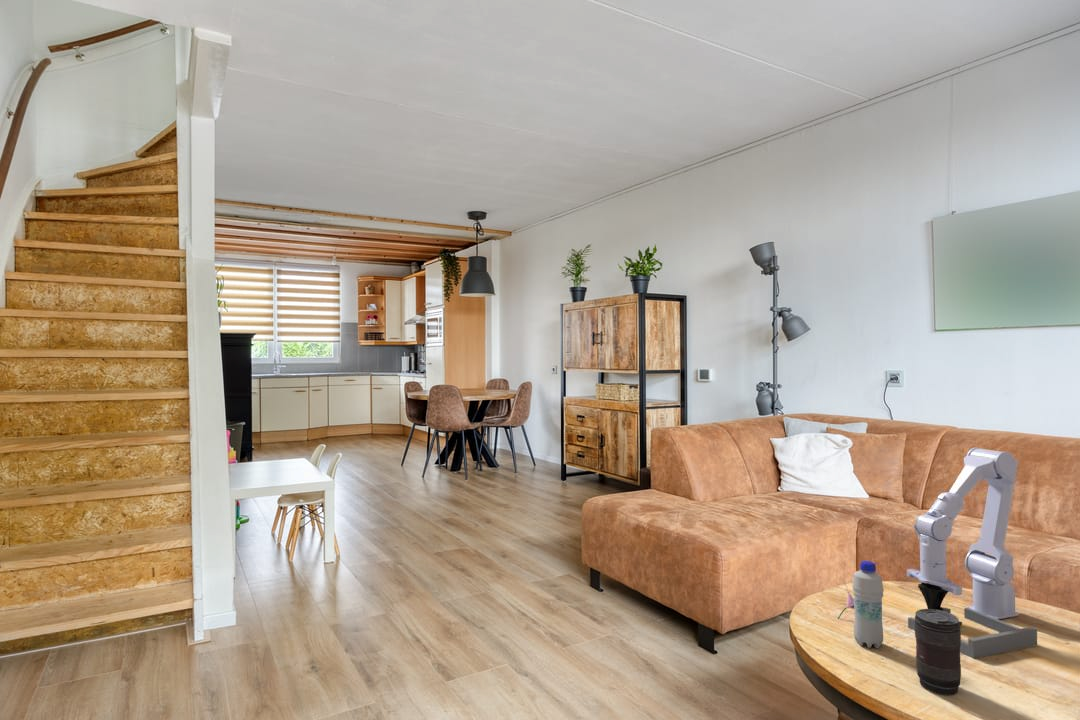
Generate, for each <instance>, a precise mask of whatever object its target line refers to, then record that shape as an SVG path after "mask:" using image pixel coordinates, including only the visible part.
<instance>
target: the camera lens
mask: <svg viewBox="0 0 1080 720" xmlns="http://www.w3.org/2000/svg"><path fill="white" fill-rule="evenodd" d="M914 618H915V631H914V637H915V644H916V645H915V648H916V649H915V650H916V651H915V652H916V654H915V666H916V675H917V676H918V678H919V684H920V685H921V687H922V688H924V689H925V690H927V691H929V692H932V693H934V694H937V695H941V696H942V695H943V696H955V695H957V694H958V693H959V692H958V691H959V687H960V686H961V679H962V665H961V652H960V646H961V640H962V638H961V637H962V633H961V630H962V629H961V627H962V626H961V627H960V623H959V621H960V619H959V618H958V617H957V616H956V615H955V614H953V613H948V612H945V611H941V610H935V609H928V608H922V609H918V610H916V611H915V616H914Z"/></svg>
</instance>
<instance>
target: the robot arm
mask: <svg viewBox="0 0 1080 720" xmlns="http://www.w3.org/2000/svg"><path fill="white" fill-rule="evenodd" d="M963 464H964V465H963V468H962V470H961V471H960V473H959V475H958V476H957V478H956V480H955V481H954V482H953V485H952V487H951V488H950V489H949V491H948V492H947V491H946V492H941V493H940V494H939V495H938V496H937V499H936V500H935V501H934V503H933V504H932V505H931V507H929V509H928V510H927V511H926V513H923V514H921V515H918V517H917V518H916V520H915V523H914V524H913V528H914V531H915V532H916V534H917V539H918V541H919V556H920V557H919V559H920V560H919V564H920V565H919V566H920V570H917V569H914V568H909V569H907V568H906V577H908V578H913V579H915V580H918V581H919V582H920V583H918V585H917V587H918V589H919V591H920V593H921V594H922V597H923V598H924V602H925V604H926V607H927V608H926V609H935V610H936V609H937V606H939V607H942V604H943V601H944V599H945V597H946V596H947V594H948V593H952V595H954V596H962V595H963V587H962V586H960V585H958V584H956V583H954V582H953V581H951V580H949V579H948V578H947V552H946V551H947V547H946V545H947V544H946V542H947V541H946V540H947V539H948V538H949V537H950V536H951V535H952V531H953V526H954V520H955V519H956V518H957V517H958V515H959V514H960V513H961V511H962V510H963V508H964V507H965V504H964V498H965V497H966V496H967V495H968V494H969V493H970V492H971V491H972V490H973V488H974V487H975V486H977V484H978V483H979V482H980V481H981V480H985V482H986V483H987V484H988V489H987V493H986V499H985V506H984V512H983V517H982V524H981V530H980V535H979V540H978V541H977V542H974V543H972V544H971V545H970V546H969V549H968V553H967V555H966V556H965V558H964V567H965V569H966V570H967V572H969V576H970V577H971V578H972V605H969V606H964V608H970V609H973V610H975V611H978V612H980V613H983V614H985V615H988V616H990V617H993V618H995V619H998V620H1002V619H1007V618H1013V617H1014V618H1015V617H1018V616H1019V615H1020V614H1019V613H1017V612H1016V590H1015V587H1014V585H1013V584H1012V583H1011V581H1012V580H1013V578H1014V575H1015V574H1014V573H1015V570H1014V569H1015V568H1014V556H1013V555H1012V554H1011V553H1010V552H1009V551H1008V550H1007V549H1006V548H1005V543H1006V536H1007V530H1008V526H1009V519H1010V512H1011V507H1012V501H1013V495H1014V494H1013V493H1014V489H1015V483H1016V478H1017V477H1016V476H1017V471H1018V465H1019V461H1018V460H1017V459H1016V458H1015V457H1014V455H1013V454H1012V453H1010V452H1009V451H999V450H991V449H985V448H980V447H972V448H970V449H969V450H968V452H967V454H966V456H964V457H963Z"/></svg>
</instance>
